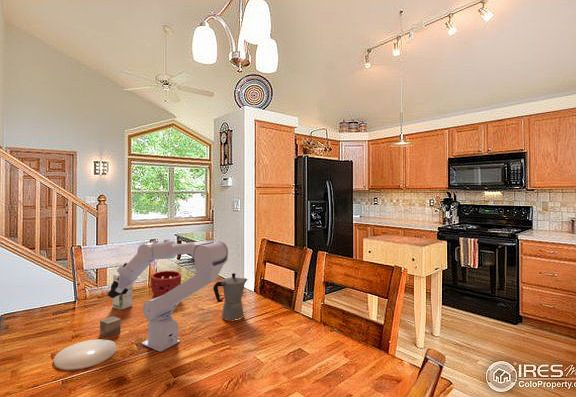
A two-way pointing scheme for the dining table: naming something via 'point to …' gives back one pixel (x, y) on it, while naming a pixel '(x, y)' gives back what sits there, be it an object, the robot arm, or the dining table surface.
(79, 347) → the white plate
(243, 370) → the dining table surface
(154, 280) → the plant pot
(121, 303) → the syrup box
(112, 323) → the walnut block
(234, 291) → the coffeepot
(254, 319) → the dining table surface
